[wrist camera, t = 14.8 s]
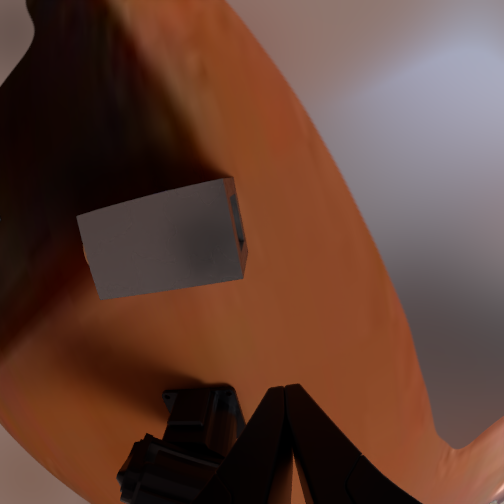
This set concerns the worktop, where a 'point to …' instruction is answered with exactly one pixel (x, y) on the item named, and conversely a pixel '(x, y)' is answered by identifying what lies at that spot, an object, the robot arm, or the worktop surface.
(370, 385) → the worktop surface
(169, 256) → the block
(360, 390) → the worktop surface
